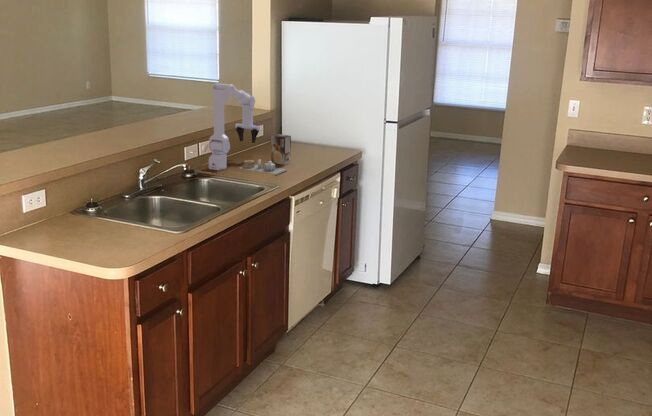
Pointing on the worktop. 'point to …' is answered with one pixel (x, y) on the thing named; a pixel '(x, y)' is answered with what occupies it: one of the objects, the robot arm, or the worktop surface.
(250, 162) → the loose gear
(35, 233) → the worktop surface
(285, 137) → the coffee box
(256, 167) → the gear board
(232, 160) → the worktop surface
